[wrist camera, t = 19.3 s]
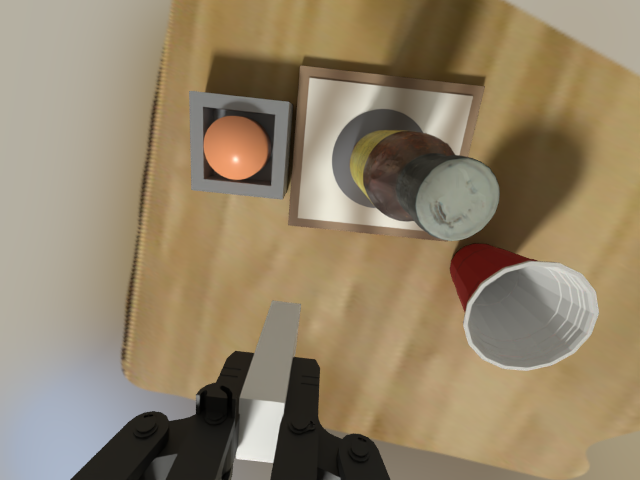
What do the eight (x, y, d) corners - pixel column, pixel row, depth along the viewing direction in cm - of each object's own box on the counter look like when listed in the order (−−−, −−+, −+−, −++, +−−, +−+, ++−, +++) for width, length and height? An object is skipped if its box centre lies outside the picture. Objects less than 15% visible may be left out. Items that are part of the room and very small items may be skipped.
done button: (272, 120, 32) (267, 119, 29) (269, 177, 34) (263, 182, 31) (215, 113, 32) (203, 112, 29) (215, 171, 34) (203, 176, 31)
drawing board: (480, 87, 33) (486, 86, 32) (444, 238, 38) (448, 242, 37) (300, 67, 33) (299, 64, 31) (288, 222, 38) (287, 225, 37)
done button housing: (293, 104, 34) (289, 101, 30) (286, 192, 37) (282, 199, 33) (204, 94, 34) (189, 90, 30) (205, 183, 36) (191, 189, 33)
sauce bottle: (348, 192, 35) (374, 266, 16) (348, 130, 33) (378, 135, 14) (410, 190, 35) (507, 264, 16) (414, 128, 33) (530, 131, 14)
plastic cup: (423, 229, 38) (465, 273, 27) (519, 214, 37) (605, 253, 26) (428, 311, 41) (468, 381, 30) (517, 299, 41) (592, 366, 29)
